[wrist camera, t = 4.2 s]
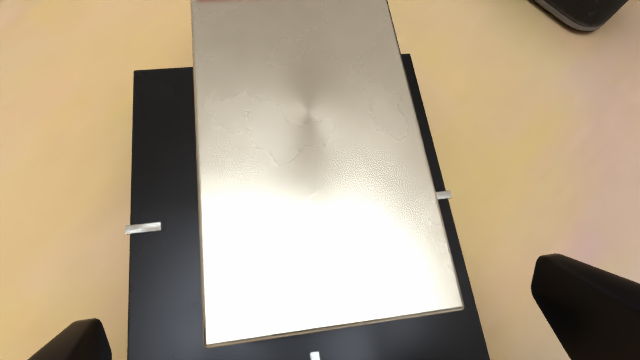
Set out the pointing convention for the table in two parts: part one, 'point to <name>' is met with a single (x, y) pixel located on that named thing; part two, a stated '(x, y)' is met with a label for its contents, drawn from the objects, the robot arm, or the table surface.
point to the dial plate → (184, 252)
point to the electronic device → (582, 11)
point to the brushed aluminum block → (310, 173)
